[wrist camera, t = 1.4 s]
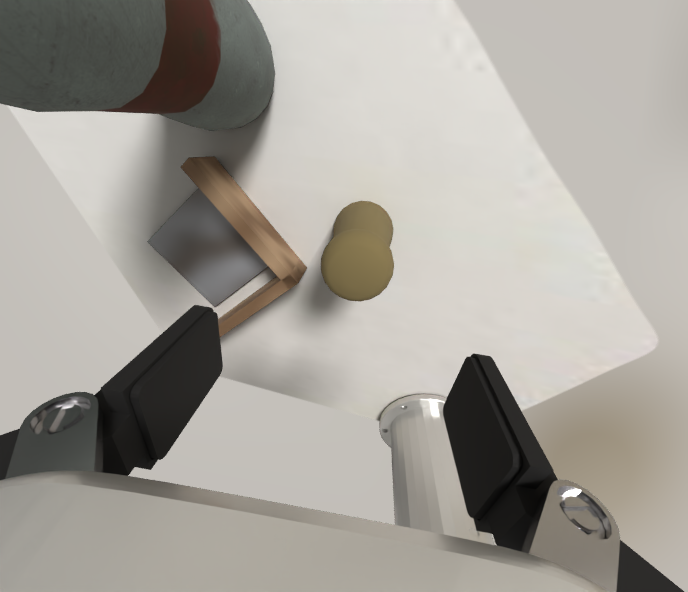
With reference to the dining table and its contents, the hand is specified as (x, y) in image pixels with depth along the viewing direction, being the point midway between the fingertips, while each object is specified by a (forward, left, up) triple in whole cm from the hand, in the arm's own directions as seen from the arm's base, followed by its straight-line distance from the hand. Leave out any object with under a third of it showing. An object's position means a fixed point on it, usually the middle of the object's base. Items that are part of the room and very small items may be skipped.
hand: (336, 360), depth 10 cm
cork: (0, 0, -20) cm, 20 cm away
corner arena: (+8, +15, -20) cm, 26 cm away
